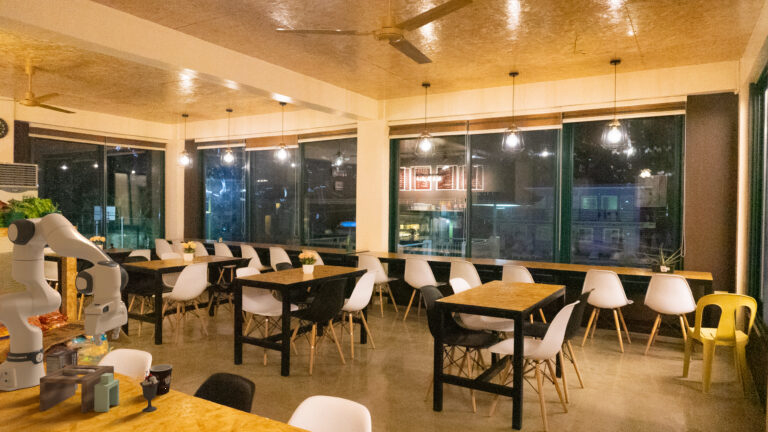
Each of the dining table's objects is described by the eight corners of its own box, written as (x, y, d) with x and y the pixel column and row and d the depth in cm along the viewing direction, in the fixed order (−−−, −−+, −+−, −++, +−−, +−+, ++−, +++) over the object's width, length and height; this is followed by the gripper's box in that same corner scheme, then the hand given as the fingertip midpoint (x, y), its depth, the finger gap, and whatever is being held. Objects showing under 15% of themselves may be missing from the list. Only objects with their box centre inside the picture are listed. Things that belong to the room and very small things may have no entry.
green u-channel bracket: (94, 411, 180) (94, 377, 180) (106, 403, 187) (106, 371, 187) (107, 411, 180) (107, 377, 179) (119, 404, 187) (119, 371, 186)
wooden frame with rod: (39, 410, 180) (39, 375, 180) (70, 394, 196) (70, 362, 196) (86, 412, 179) (86, 377, 178) (113, 396, 195) (113, 363, 194)
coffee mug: (167, 386, 206) (167, 362, 205) (175, 392, 199) (175, 367, 199) (137, 393, 197) (138, 369, 197) (145, 399, 191) (145, 374, 191)
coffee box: (65, 387, 203) (65, 348, 203) (78, 388, 202) (78, 350, 202) (45, 395, 194) (45, 355, 194) (59, 397, 193) (59, 356, 193)
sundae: (139, 414, 178) (140, 373, 177) (139, 407, 184) (139, 368, 183) (159, 411, 181) (160, 370, 180) (158, 404, 187) (159, 365, 186)
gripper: (116, 299, 193) (116, 334, 194) (80, 310, 173) (80, 349, 173) (131, 299, 193) (131, 335, 193) (97, 310, 172) (97, 349, 173)
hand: (107, 341), depth 183 cm, fingers open, 8 cm apart
